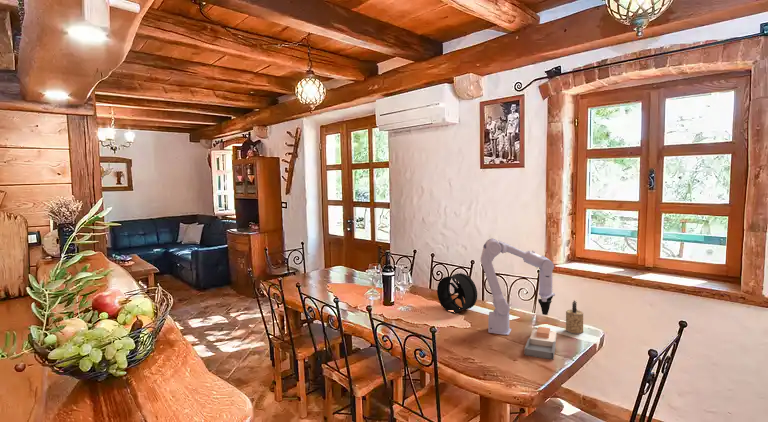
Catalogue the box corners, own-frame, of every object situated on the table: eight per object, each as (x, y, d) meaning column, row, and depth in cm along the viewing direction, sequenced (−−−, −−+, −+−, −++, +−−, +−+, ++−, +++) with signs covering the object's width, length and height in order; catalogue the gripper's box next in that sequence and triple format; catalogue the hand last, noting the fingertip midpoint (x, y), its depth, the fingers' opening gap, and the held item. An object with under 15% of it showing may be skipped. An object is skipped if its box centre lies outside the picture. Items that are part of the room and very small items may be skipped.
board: (529, 344, 179) (529, 338, 179) (533, 334, 190) (533, 329, 189) (554, 347, 175) (554, 342, 174) (556, 337, 185) (556, 332, 185)
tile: (536, 336, 181) (536, 332, 181) (538, 330, 187) (538, 326, 187) (548, 338, 179) (548, 333, 178) (550, 332, 185) (550, 328, 185)
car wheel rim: (477, 312, 221) (477, 276, 219) (465, 317, 215) (465, 280, 213) (449, 304, 236) (448, 270, 235) (437, 308, 230) (436, 273, 228)
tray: (524, 355, 169) (524, 348, 168) (528, 343, 179) (528, 337, 179) (553, 359, 164) (553, 353, 163) (555, 347, 174) (555, 341, 174)
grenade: (585, 334, 187) (585, 302, 186) (568, 333, 189) (568, 302, 188) (580, 328, 195) (580, 297, 193) (564, 327, 196) (564, 297, 195)
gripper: (553, 288, 182) (553, 318, 183) (556, 280, 194) (556, 308, 196) (536, 287, 185) (537, 316, 186) (540, 279, 198) (540, 306, 199)
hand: (545, 312), depth 191 cm, fingers open, 6 cm apart
